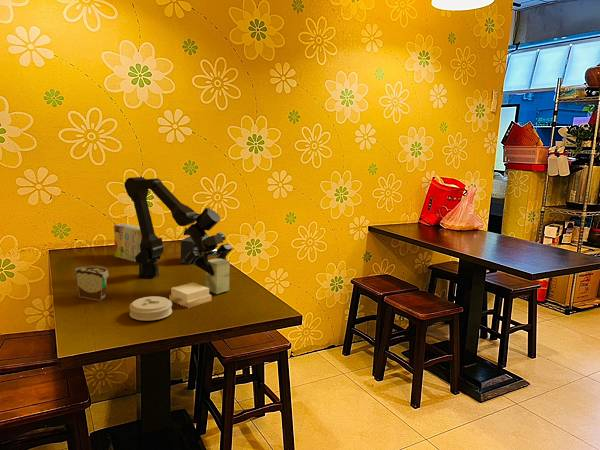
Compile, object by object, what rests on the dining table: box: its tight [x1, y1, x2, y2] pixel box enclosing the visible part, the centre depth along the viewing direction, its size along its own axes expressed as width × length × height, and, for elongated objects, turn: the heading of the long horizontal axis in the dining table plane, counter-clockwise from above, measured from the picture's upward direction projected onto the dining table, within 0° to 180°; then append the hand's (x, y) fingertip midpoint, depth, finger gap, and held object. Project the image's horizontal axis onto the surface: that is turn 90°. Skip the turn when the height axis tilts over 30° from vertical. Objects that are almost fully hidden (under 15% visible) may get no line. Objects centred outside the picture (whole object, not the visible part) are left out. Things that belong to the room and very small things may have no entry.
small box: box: [180, 235, 198, 264], centre depth 204 cm, size 11×6×10 cm, turn 168°
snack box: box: [113, 223, 142, 263], centre depth 202 cm, size 21×6×15 cm, turn 58°
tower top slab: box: [170, 281, 210, 302], centre depth 155 cm, size 9×9×2 cm
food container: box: [74, 265, 110, 302], centre depth 155 cm, size 12×6×10 cm, turn 71°
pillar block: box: [205, 257, 231, 295], centre depth 165 cm, size 6×6×11 cm
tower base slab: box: [168, 293, 213, 309], centre depth 156 cm, size 10×10×2 cm
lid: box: [129, 295, 173, 321], centre depth 142 cm, size 13×13×5 cm
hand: (220, 273), depth 164 cm, fingers closed on pillar block, 6 cm apart
